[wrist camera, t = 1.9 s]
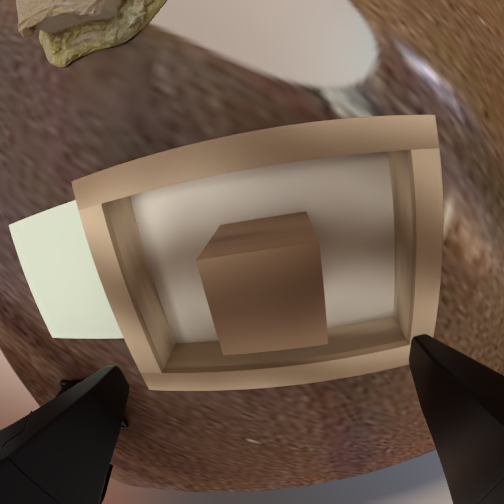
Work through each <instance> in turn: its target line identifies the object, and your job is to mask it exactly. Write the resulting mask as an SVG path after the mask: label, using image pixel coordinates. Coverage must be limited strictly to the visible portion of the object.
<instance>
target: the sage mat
mask: <svg viewBox="0 0 504 504" xmlns="http://www.w3.org/2000/svg"><path fill="white" fill-rule="evenodd" d="M9 228H10V231H11V235H12V238H13V242H14V245H15V248H16V251H17V254H18V257H19V260H20V263H21V266H22V268H23V271H24V274H25V277H26V279H27V282H28V284H29V287H30V289H31V292H32V294H33V297H34V299H35V301H36V304H37V306H38V308H39V311H40V313H41V315H42V317H43V319H44V321H45V324H46V326H47V328H48V330H49V332H50V334H51V336H52V338H88V339H106V338H124V337H123V335H122V333H121V331H120V328H119V326H118V324H117V321H116V319H115V317H114V314H113V312H112V309H111V307H110V304H109V302H108V299H107V297H106V294H105V291H104V289H103V286H102V283H101V281H100V278H99V275H98V272H97V269H96V266H95V264H94V261H93V258H92V255H91V251H90V248H89V245H88V242H87V239H86V235H85V232H84V229H83V225H82V222H81V218H80V214H79V211H78V207H77V203H76V200H74V201H71V202H68V203H65V204H62V205H59V206H57V207H54V208H51V209H48V210H46V211H43V212H40V213H38V214H35V215H32V216H30V217H27V218H25V219H22V220H20V221H17V222H15V223H13V224H10V225H9Z"/></svg>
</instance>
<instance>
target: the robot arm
mask: <svg viewBox="0 0 504 504" xmlns="http://www.w3.org/2000/svg"><path fill="white" fill-rule="evenodd" d="M409 366H410V369H411V373H412V376H413V380H414V383H415V387H416V391H417V394H418V398H419V402H420V405H421V409H422V411H423V414H424V417H425V419H426V422H427V425H428V427H429V430H430V433H431V435H432V438H433V441H434V444H435V447H436V450H437V452H438V455H439V458H440V461H441V464H442V467H443V471H444V474H445V477H446V480H447V484H448V487H449V490H450V494H451V497H452V501H453V504H504V376H503V375H501V374H499V373H498V372H496V371H494V370H492V369H490V368H488V367H487V366H485V365H483V364H481V363H479V362H477V361H475V360H474V359H472V358H470V357H468V356H466V355H464V354H463V353H461V352H459V351H457V350H455V349H453V348H451V347H450V346H448V345H446V344H444V343H442V342H440V341H438V340H436V339H435V338H433V337H431V336H429V335H427V334H421V335H417V336H414V337H413V338H412V341H411V347H410V354H409ZM59 385H60V386H61V388H62V389H61V391H60V392H59V393H58V395H57V396H56V397H55V398H54V399H53V400H51V401H50V402H48V403H46V404H45V405H43V406H41V407H40V408H38V409H37V410H35V411H33V412H32V411H31V412H30V414H29V415H27V416H25V417H23V418H22V419H20V420H19V421H17V422H15V423H13V424H11V425H10V426H8V427H6V428H4V429H2V430H0V504H101V503H102V501H103V499H104V497H105V494H106V490H107V486H108V482H109V478H110V475H111V471H112V467H113V465H111V464H110V462H111V458H112V455H113V452H114V449H115V445H116V442H117V439H118V436H119V433H120V429H127V428H128V426H129V425H128V424H127V422H126V421H125V419H124V418H123V416H124V412H125V407H126V403H127V398H128V394H129V384H128V382H127V380H126V378H125V377H124V375H123V373H122V371H121V369H120V368H119V367H118V366H110V365H109V366H105V367H104V368H102V369H101V370H99V371H97V372H96V373H94V374H93V375H91V376H90V377H88V378H86V379H85V380H83V381H82V382H80V383H77V382H70V381H63V380H61V382H60V383H59Z"/></svg>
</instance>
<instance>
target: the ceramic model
mask: <svg viewBox="0 0 504 504" xmlns="http://www.w3.org/2000/svg"><path fill="white" fill-rule="evenodd" d="M166 1H167V0H16V5H17V11H18V20H19V23H18V25H17V26H18V29H19V32H20V33H21V35H22V36H23V37H24V38H25V37H29V36H32V35H33V34H34V30H40V34H39V40H40V42H41V44H42V45H43V49H44V51H45V53H46V57H47V58H48V60H49V62H50V63H51V64H53V65H55V66H57V67H66V66H67V65H68V64H70V63H71V62H72V61H74V60H76V59H77V58H79V57H81V56H85V55H87V54H89V53H91V52H94V51H97V50H101V49H105V48H109V47H114V46H116V45H120V44H123V43H125V42H127V41H128V40H129V39H131V38H132V37H133V36H135V35H136V34H137V33H138V32H139V31H141V30H142V29H143V28H144V27H145V26H146V25H147V24H148V23H150V22H151V21H152V19H153V18H154V17H155V15H156V14H157V13H158V12H159V11H160V9H161V8H162V7H163V6H164V4H165V3H166Z"/></svg>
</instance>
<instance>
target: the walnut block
mask: <svg viewBox="0 0 504 504" xmlns="http://www.w3.org/2000/svg"><path fill="white" fill-rule="evenodd" d="M196 262H197V266H198V269H199V273H200V277H201V281H202V284H203V288H204V291H205V295H206V299H207V302H208V306H209V309H210V313H211V316H212V320H213V323H214V326H215V330H216V333H217V336H218V340H219V343H220V346H221V350H222V353H223V355H236V354H248V353H259V352H269V351H278V350H287V349H295V348H303V347H310V346H317V345H324V344H328V334H327V320H326V307H325V295H324V284H323V273H322V264H321V254H320V245H319V240H318V238H317V236H316V233H315V231H314V229H313V226H312V224H311V221H310V219H309V217H308V215H307V212H306V211H305V212H298V213H292V214H285V215H279V216H272V217H266V218H259V219H253V220H247V221H241V222H235V223H229V224H223V225H220V226H219V227H218V229H217V230H216V232H215V233H214V235H213V236H212V237H211V239H210V240H209V242H208V243H207V245H206V246H205V248H204V249H203V251H202V252H201V253H200V255H199V256H198V258H197V259H196Z"/></svg>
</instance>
